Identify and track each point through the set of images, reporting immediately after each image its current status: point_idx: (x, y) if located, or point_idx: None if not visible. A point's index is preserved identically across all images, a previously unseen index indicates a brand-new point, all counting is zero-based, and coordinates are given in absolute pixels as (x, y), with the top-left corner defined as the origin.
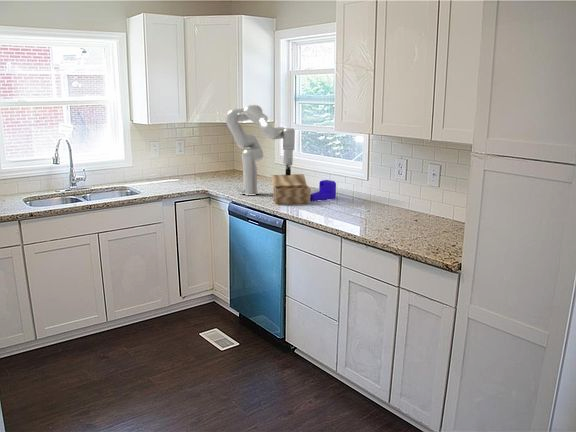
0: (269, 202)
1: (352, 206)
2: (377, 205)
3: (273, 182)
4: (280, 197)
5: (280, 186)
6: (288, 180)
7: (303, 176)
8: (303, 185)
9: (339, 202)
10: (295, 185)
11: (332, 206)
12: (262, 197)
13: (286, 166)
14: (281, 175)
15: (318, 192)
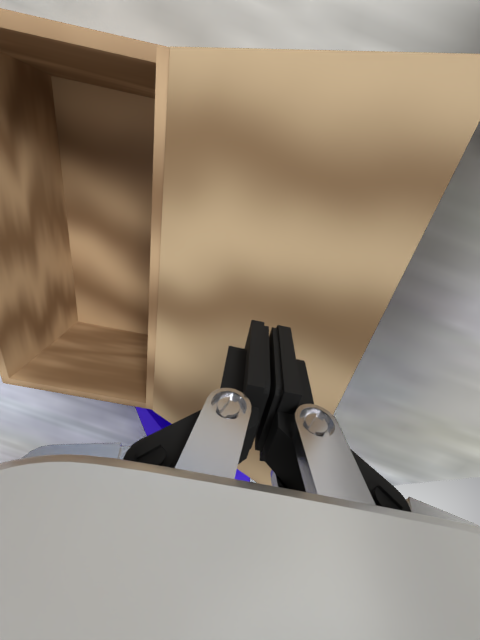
0: (155, 32)
1: (16, 446)
2: None
3: (239, 63)
4: (4, 100)
5: (154, 164)
6: (231, 312)
7: (256, 474)
8: (146, 386)
9: (99, 439)
10: (149, 329)
11: (11, 388)
12: (408, 35)
13: (218, 453)
14: (373, 279)
15: None
